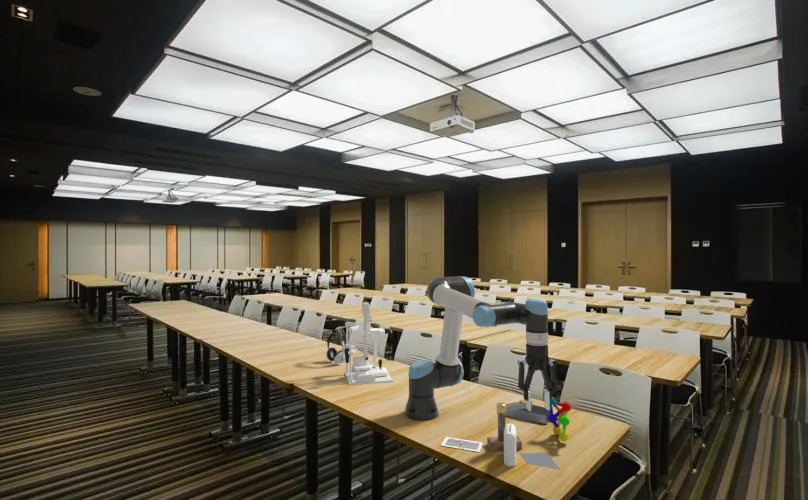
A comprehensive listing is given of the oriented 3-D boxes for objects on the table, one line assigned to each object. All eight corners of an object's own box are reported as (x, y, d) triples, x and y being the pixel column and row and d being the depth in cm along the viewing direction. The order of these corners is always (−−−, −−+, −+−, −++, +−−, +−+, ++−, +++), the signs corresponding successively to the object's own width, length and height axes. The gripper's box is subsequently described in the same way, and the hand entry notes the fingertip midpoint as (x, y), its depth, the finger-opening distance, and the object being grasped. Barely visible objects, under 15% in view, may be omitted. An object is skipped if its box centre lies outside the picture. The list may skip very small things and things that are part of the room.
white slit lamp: (394, 381, 238) (393, 304, 238) (348, 385, 231) (347, 305, 231) (386, 369, 261) (385, 299, 261) (343, 373, 255) (343, 300, 255)
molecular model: (541, 429, 172) (541, 394, 171) (562, 427, 173) (563, 393, 172) (557, 449, 157) (557, 411, 156) (581, 447, 158) (581, 410, 157)
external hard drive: (546, 425, 178) (546, 417, 178) (504, 417, 188) (504, 408, 188) (552, 416, 188) (552, 407, 188) (513, 408, 198) (513, 400, 198)
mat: (534, 475, 138) (534, 474, 138) (520, 454, 152) (520, 453, 152) (563, 473, 139) (563, 472, 139) (546, 453, 153) (546, 452, 153)
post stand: (490, 451, 155) (490, 416, 155) (487, 444, 160) (487, 411, 160) (521, 449, 155) (521, 415, 156) (517, 443, 160) (517, 410, 160)
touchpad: (445, 439, 165) (445, 434, 165) (483, 445, 160) (483, 440, 160) (440, 448, 158) (440, 442, 158) (479, 454, 153) (479, 449, 153)
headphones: (323, 360, 284) (322, 331, 284) (333, 358, 290) (333, 330, 290) (338, 366, 270) (338, 335, 270) (349, 363, 276) (349, 334, 276)
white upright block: (504, 453, 153) (504, 419, 153) (516, 454, 152) (516, 421, 152) (503, 466, 143) (503, 431, 143) (516, 468, 142) (515, 433, 142)
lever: (500, 416, 155) (500, 406, 155) (494, 412, 158) (494, 403, 158) (533, 409, 162) (533, 400, 162) (527, 406, 165) (527, 397, 165)
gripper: (514, 346, 141) (515, 414, 141) (567, 345, 142) (568, 412, 142) (507, 341, 149) (508, 405, 148) (558, 340, 150) (559, 404, 149)
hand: (537, 408), depth 145 cm, fingers open, 6 cm apart
